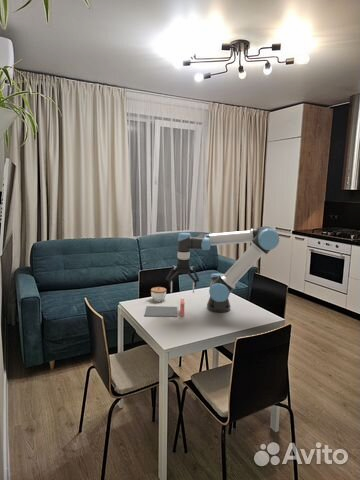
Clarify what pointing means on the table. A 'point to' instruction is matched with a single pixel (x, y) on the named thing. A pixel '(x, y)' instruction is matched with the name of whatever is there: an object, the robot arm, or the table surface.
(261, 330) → the table surface
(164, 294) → the lidded jar
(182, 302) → the deck
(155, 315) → the mat
